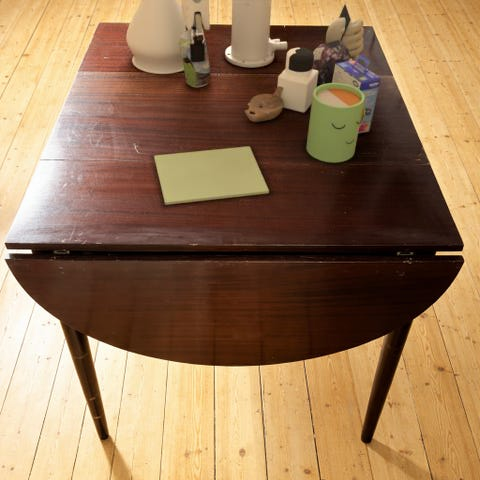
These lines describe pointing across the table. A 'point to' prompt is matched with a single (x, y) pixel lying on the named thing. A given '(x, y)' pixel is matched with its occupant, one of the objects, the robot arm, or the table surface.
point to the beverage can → (194, 63)
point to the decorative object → (347, 33)
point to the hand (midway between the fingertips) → (195, 53)
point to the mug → (335, 121)
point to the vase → (157, 36)
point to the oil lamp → (265, 106)
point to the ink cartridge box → (359, 85)
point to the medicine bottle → (298, 80)
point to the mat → (209, 175)
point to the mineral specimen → (329, 59)
